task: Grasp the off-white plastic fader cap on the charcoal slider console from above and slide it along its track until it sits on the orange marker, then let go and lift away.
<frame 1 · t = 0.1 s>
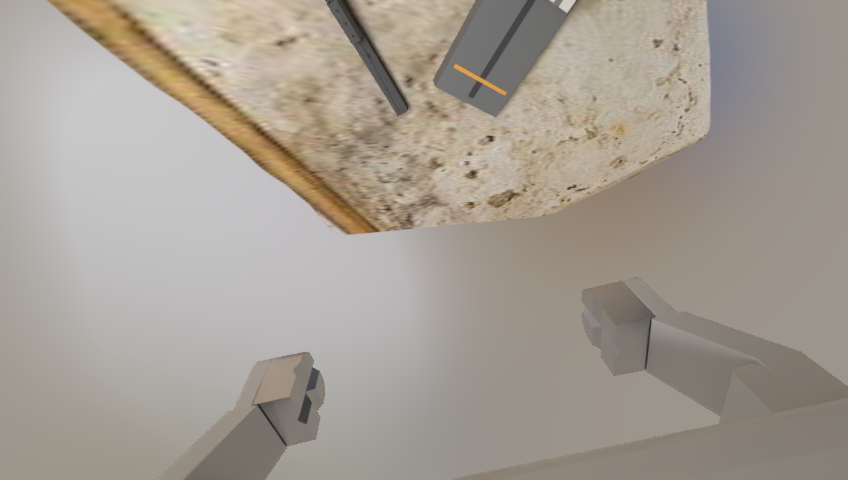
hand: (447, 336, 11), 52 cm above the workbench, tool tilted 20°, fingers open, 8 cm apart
slider console: (504, 30, 53), on the workbench
dark grey bar: (372, 54, 54), on the workbench
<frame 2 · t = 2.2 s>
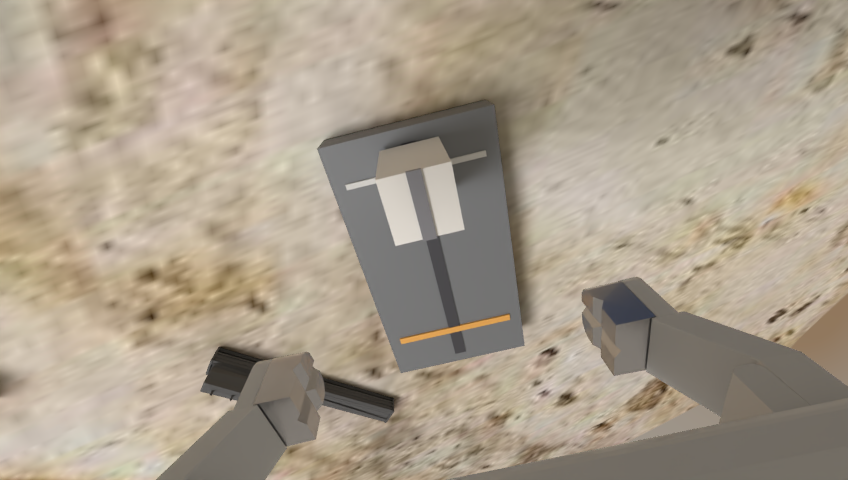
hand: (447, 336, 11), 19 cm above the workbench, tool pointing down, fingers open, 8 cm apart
fader cap: (418, 187, 22), point 6 cm above the workbench, slide at -8.0 cm
slider console: (435, 249, 31), on the workbench
dark grey bar: (311, 374, 38), on the workbench
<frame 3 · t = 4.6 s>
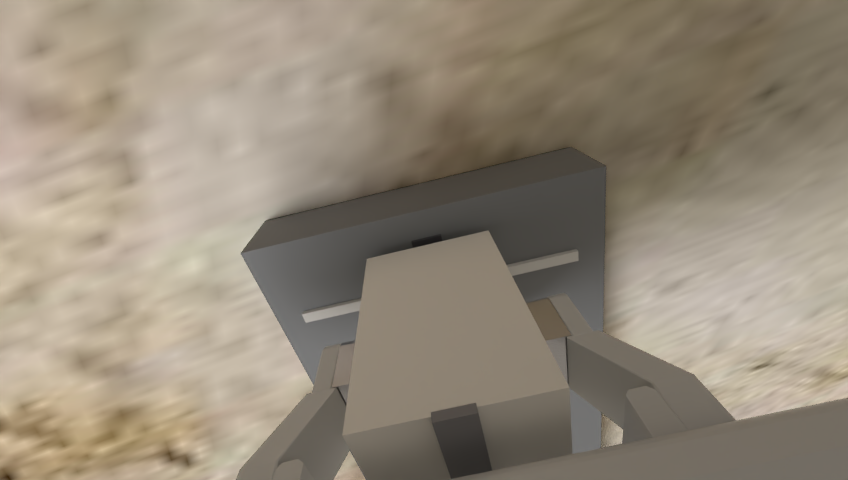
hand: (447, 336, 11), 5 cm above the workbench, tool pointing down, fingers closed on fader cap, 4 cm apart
fader cap: (452, 361, 10), point 6 cm above the workbench, slide at -8.0 cm, touching gripper
slider console: (464, 378, 19), on the workbench
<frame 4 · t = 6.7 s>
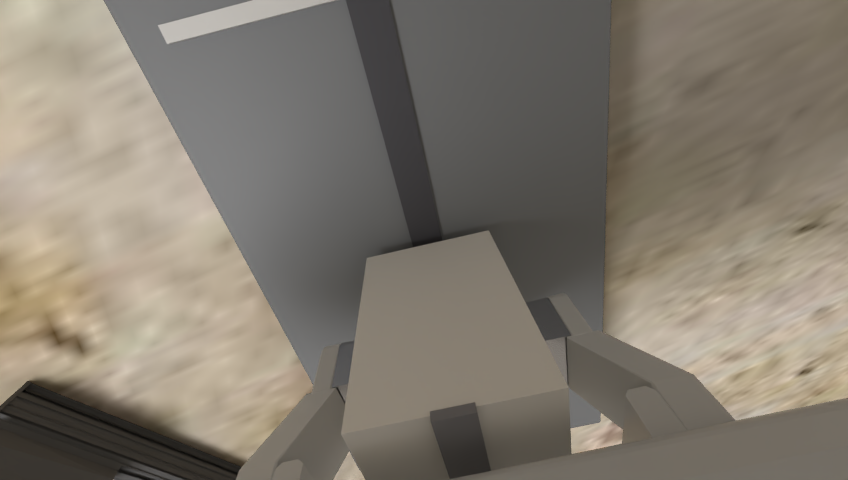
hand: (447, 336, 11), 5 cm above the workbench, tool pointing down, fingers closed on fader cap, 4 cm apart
fader cap: (451, 361, 10), point 6 cm above the workbench, slide at 1.1 cm, touching gripper
slider console: (426, 228, 15), on the workbench
dark grey bar: (209, 451, 21), on the workbench
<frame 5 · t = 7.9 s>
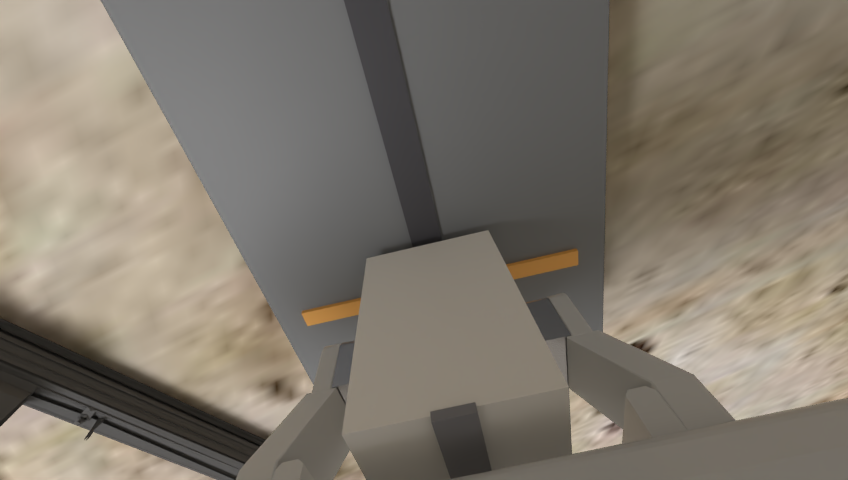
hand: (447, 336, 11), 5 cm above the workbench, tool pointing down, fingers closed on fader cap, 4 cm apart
fader cap: (451, 361, 10), point 6 cm above the workbench, slide at 6.9 cm, touching gripper
slider console: (387, 74, 12), on the workbench
dark grey bar: (152, 386, 18), on the workbench
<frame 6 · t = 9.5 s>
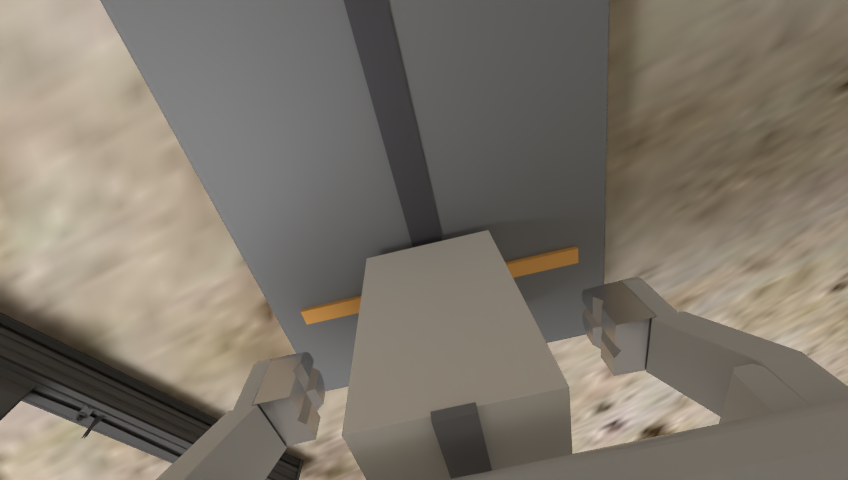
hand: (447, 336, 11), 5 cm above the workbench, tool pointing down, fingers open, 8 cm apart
fader cap: (451, 361, 10), point 6 cm above the workbench, slide at 7.0 cm
slider console: (386, 71, 12), on the workbench
dark grey bar: (150, 385, 18), on the workbench
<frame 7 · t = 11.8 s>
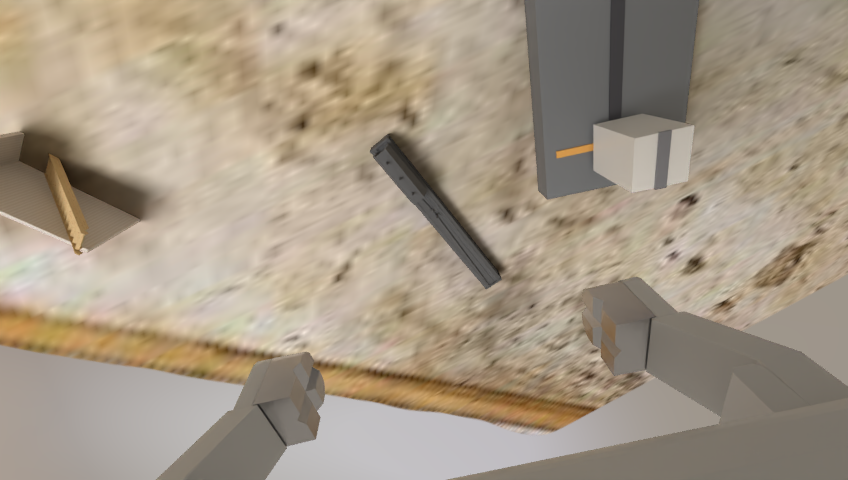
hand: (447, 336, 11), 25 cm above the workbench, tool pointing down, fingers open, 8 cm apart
fader cap: (637, 151, 28), point 6 cm above the workbench, slide at 7.0 cm
model: (88, 177, 34), on the workbench
slider console: (600, 53, 30), on the workbench
dark grey bar: (442, 211, 36), on the workbench
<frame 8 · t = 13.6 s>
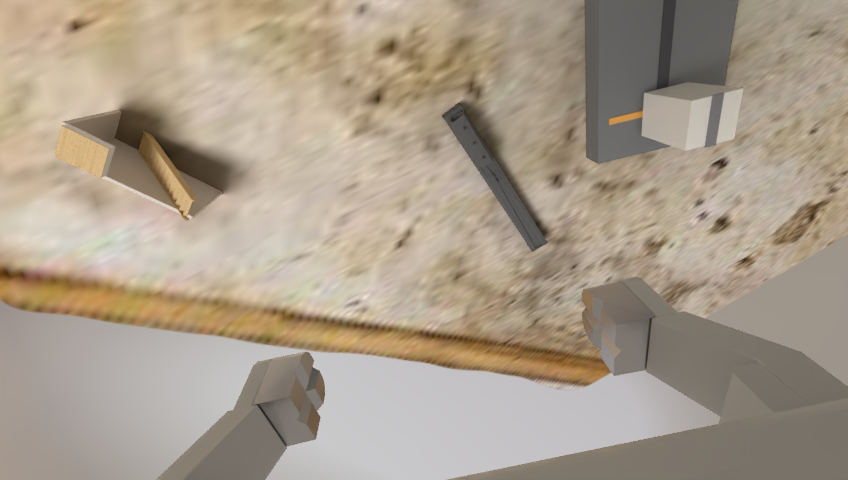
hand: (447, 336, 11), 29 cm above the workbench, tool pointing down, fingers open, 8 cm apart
fader cap: (687, 114, 31), point 6 cm above the workbench, slide at 7.0 cm
model: (176, 153, 36), on the workbench
slider console: (649, 28, 33), on the workbench
dark grey bar: (497, 178, 40), on the workbench
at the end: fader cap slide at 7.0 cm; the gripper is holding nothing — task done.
